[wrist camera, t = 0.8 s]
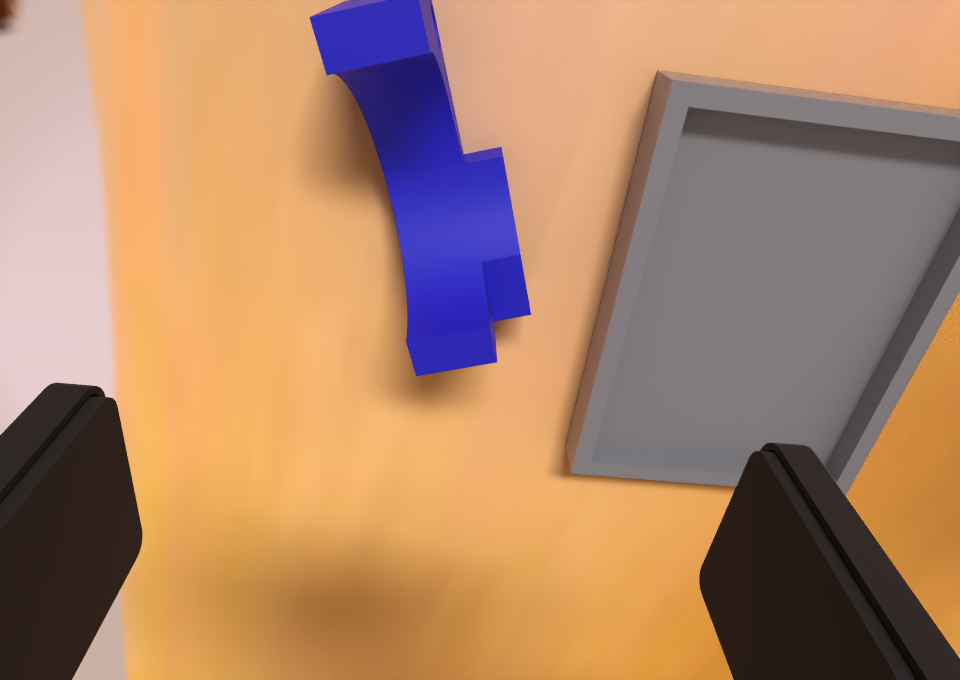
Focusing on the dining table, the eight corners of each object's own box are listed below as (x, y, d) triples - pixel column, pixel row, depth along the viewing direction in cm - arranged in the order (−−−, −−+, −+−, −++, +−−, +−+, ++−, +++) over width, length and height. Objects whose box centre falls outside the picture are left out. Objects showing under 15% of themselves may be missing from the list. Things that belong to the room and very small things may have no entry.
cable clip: (524, 281, 29) (538, 354, 23) (425, 299, 29) (416, 376, 24) (470, -27, 22) (472, -20, 17) (344, 1, 23) (309, 17, 18)
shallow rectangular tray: (1010, 116, 25) (1050, 129, 23) (826, 467, 34) (845, 495, 33) (657, 70, 24) (672, 79, 22) (565, 446, 33) (570, 473, 31)
